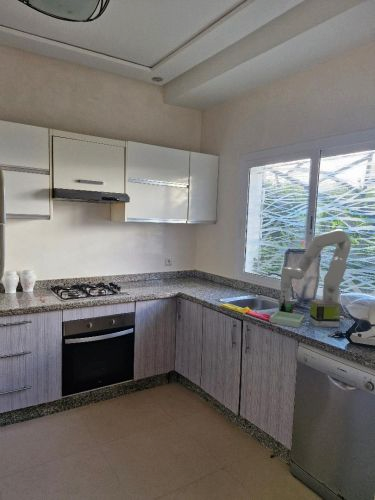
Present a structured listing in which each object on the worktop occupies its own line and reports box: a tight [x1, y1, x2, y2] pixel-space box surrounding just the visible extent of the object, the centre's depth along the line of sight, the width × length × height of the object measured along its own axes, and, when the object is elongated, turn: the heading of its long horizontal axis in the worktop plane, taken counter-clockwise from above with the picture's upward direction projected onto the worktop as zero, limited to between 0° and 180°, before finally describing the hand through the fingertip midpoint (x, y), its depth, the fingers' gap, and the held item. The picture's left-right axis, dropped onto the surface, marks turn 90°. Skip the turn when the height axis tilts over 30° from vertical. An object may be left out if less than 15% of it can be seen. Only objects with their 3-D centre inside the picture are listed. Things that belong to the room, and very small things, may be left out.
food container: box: [277, 297, 296, 314], centre depth 240 cm, size 12×6×10 cm, turn 45°
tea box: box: [309, 299, 341, 328], centre depth 219 cm, size 15×10×15 cm, turn 92°
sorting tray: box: [268, 310, 306, 329], centre depth 222 cm, size 18×18×4 cm
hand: (284, 310), depth 241 cm, fingers closed on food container, 5 cm apart
